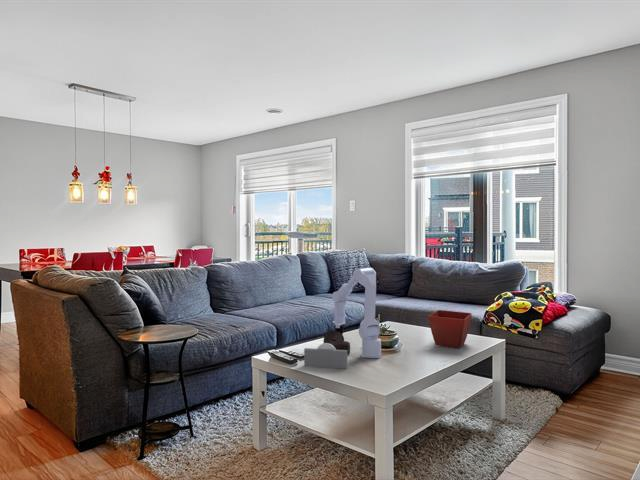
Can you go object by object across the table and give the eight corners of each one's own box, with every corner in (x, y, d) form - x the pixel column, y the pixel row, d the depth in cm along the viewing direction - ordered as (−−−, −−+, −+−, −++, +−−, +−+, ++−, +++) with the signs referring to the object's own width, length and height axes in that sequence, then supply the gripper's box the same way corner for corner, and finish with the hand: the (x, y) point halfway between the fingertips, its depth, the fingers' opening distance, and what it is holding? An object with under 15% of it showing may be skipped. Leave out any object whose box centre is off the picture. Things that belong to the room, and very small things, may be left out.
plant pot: (464, 351, 241) (464, 319, 240) (427, 346, 251) (428, 315, 250) (471, 343, 258) (472, 312, 257) (437, 338, 267) (437, 309, 267)
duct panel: (347, 366, 216) (347, 344, 215) (346, 368, 213) (346, 346, 212) (305, 364, 220) (305, 342, 220) (304, 366, 217) (304, 343, 216)
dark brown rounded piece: (347, 342, 231) (350, 330, 245) (318, 342, 234) (323, 331, 248) (349, 360, 233) (352, 347, 247) (320, 360, 236) (324, 348, 250)
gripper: (334, 310, 261) (335, 334, 261) (329, 315, 247) (330, 341, 247) (347, 311, 259) (347, 335, 260) (343, 316, 245) (343, 341, 246)
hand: (339, 338), depth 253 cm, fingers closed
